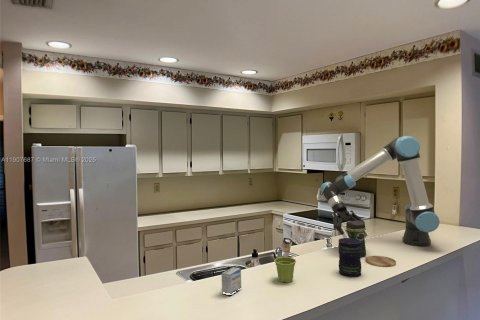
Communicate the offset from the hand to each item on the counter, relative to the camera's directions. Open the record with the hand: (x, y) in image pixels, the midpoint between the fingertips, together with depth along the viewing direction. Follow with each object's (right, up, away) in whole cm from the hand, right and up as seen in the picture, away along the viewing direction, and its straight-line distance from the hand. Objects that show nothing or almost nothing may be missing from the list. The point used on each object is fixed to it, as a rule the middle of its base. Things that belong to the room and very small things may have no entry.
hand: (357, 237), depth 170 cm
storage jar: (-12, -11, -24) cm, 29 cm away
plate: (+8, -10, -10) cm, 16 cm away
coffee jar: (0, -10, +1) cm, 10 cm away
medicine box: (-65, -12, -42) cm, 79 cm away
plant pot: (-42, -11, -31) cm, 54 cm away
